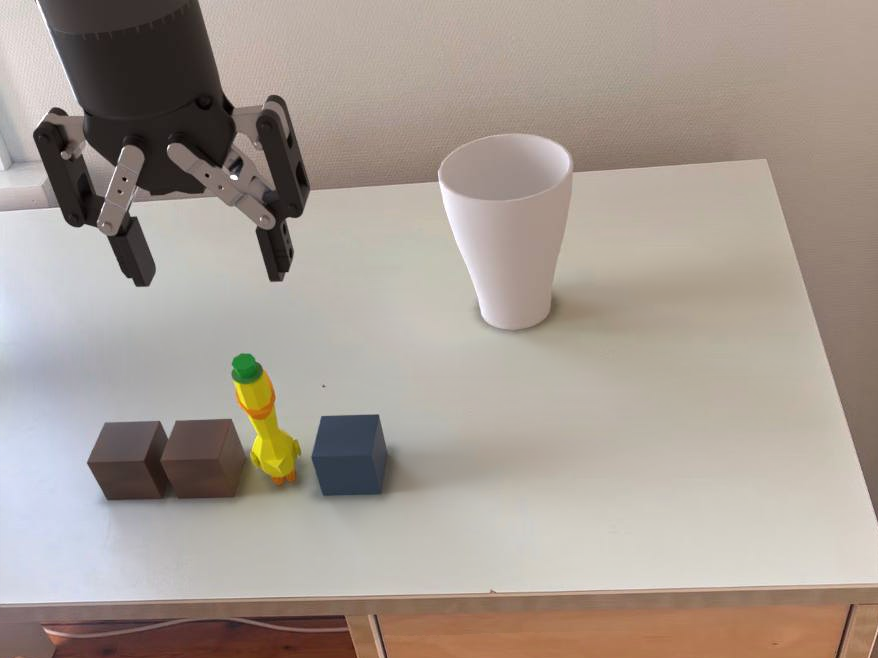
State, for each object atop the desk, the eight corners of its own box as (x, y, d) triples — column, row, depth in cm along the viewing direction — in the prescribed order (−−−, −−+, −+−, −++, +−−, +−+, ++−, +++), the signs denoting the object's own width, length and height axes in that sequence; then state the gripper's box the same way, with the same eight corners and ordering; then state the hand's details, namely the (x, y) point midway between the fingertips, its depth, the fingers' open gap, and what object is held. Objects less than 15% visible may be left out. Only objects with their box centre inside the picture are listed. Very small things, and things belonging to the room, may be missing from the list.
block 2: (179, 502, 74) (159, 461, 70) (193, 461, 76) (175, 419, 73) (235, 501, 73) (218, 459, 70) (247, 460, 76) (231, 418, 73)
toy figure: (255, 456, 76) (209, 330, 67) (299, 443, 77) (259, 317, 67) (269, 514, 72) (222, 389, 63) (316, 501, 72) (276, 374, 63)
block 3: (323, 499, 72) (310, 457, 69) (332, 458, 75) (320, 415, 72) (381, 498, 72) (371, 455, 69) (388, 456, 75) (379, 413, 71)
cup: (469, 360, 81) (451, 213, 71) (446, 290, 88) (427, 147, 78) (590, 335, 82) (589, 186, 72) (558, 268, 89) (553, 123, 79)
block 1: (109, 504, 74) (86, 462, 71) (125, 463, 77) (104, 422, 74) (164, 502, 74) (143, 461, 70) (179, 462, 76) (160, 420, 73)
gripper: (272, -43, 50) (334, 239, 62) (9, -25, 51) (121, 247, 63) (240, 17, 45) (314, 310, 57) (-49, 35, 46) (84, 317, 59)
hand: (212, 277), depth 60 cm, fingers open, 8 cm apart
